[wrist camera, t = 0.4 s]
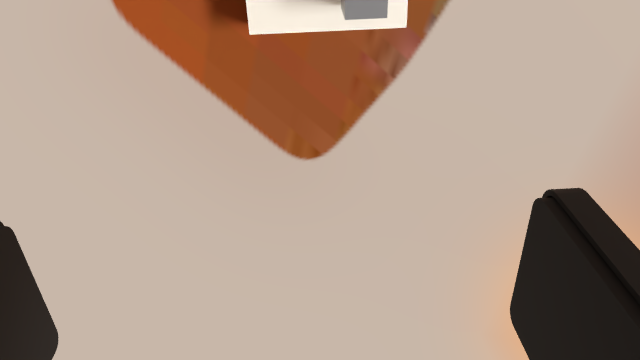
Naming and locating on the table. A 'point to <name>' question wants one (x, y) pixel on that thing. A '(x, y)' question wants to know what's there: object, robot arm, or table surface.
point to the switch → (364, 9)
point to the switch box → (315, 16)
